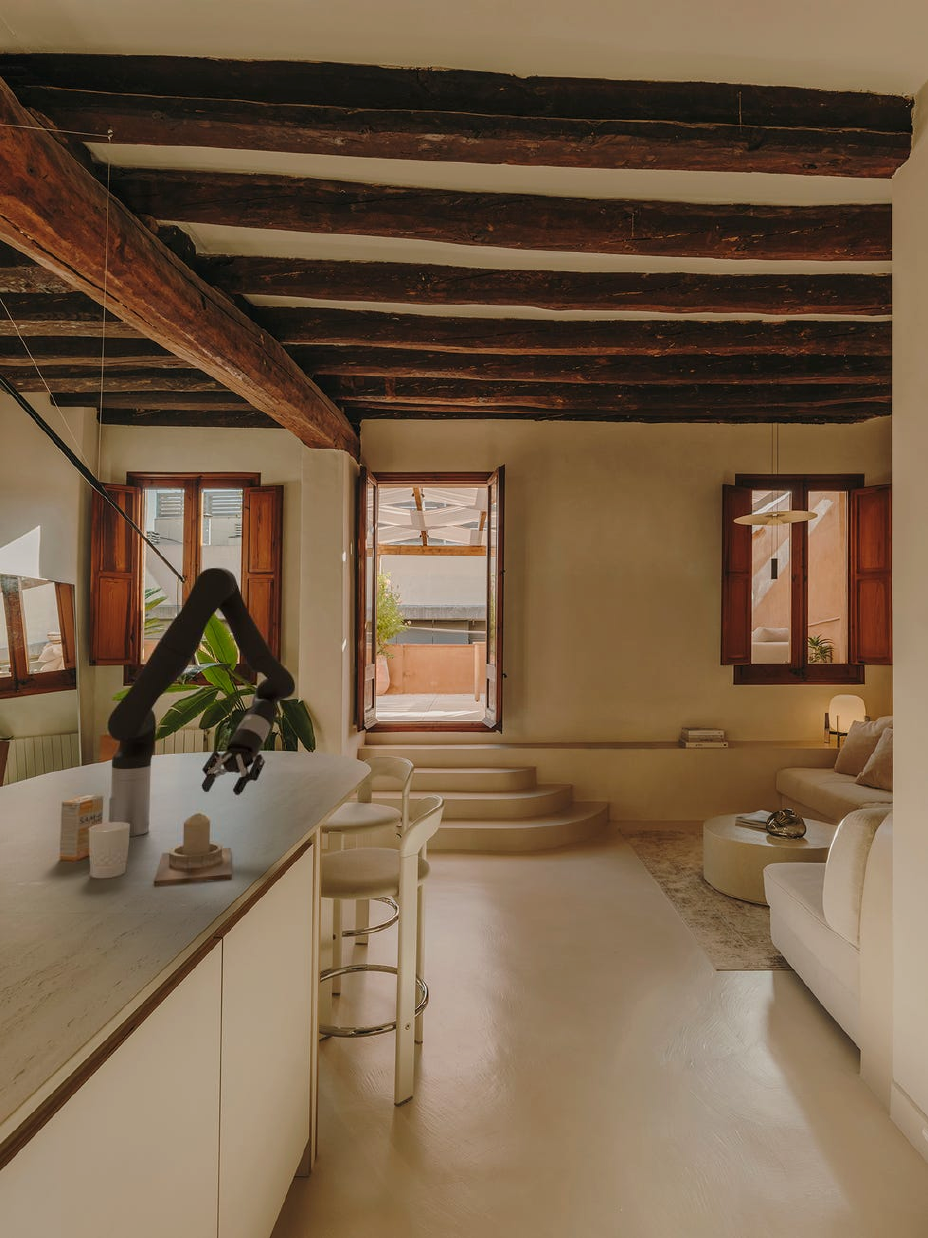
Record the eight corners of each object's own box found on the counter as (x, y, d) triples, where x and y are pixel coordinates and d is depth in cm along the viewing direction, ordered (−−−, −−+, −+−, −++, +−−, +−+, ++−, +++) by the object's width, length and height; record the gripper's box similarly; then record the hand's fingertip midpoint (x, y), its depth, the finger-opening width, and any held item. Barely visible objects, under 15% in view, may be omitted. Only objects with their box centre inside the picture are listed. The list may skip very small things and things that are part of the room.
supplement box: (76, 861, 157) (78, 802, 158) (58, 859, 158) (60, 801, 159) (102, 851, 166) (104, 795, 166) (85, 849, 167) (86, 794, 167)
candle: (187, 856, 159) (188, 812, 159) (212, 856, 159) (212, 811, 160) (179, 864, 153) (180, 818, 154) (205, 863, 154) (206, 817, 154)
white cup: (136, 870, 152) (138, 824, 152) (107, 881, 144) (109, 833, 145) (108, 866, 154) (110, 820, 155) (78, 877, 147) (80, 829, 147)
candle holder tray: (153, 885, 142) (154, 868, 142) (162, 857, 161) (163, 842, 161) (231, 879, 147) (231, 862, 147) (231, 852, 166) (231, 837, 166)
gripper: (219, 726, 175) (187, 780, 164) (269, 729, 171) (239, 784, 160) (231, 744, 180) (201, 798, 169) (280, 747, 176) (252, 803, 165)
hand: (220, 791), depth 164 cm, fingers open, 8 cm apart
